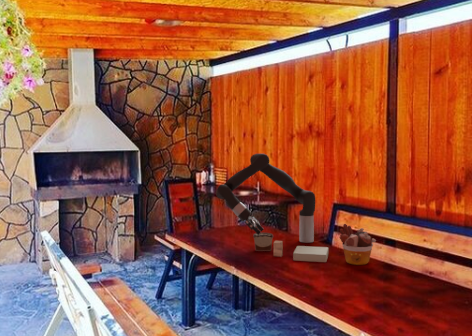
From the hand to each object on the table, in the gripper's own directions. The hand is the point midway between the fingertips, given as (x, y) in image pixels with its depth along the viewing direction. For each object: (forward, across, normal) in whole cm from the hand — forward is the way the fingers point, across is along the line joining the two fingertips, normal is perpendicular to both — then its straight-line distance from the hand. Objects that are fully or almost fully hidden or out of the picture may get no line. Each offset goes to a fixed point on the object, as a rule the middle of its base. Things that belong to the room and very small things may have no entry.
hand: (261, 231), depth 278 cm
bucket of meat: (+48, -6, -28) cm, 56 cm away
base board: (+30, 0, -11) cm, 32 cm away
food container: (+9, +12, +10) cm, 18 cm away
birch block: (+16, 0, +2) cm, 17 cm away
